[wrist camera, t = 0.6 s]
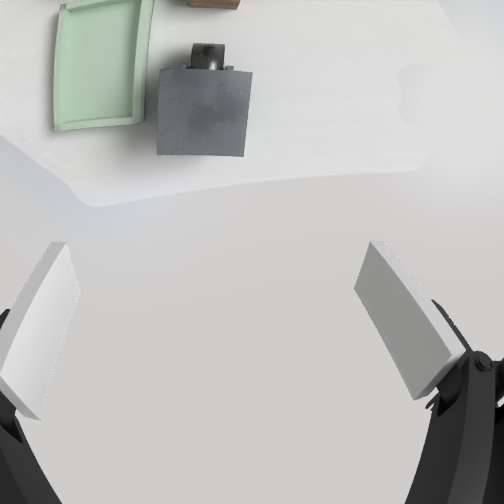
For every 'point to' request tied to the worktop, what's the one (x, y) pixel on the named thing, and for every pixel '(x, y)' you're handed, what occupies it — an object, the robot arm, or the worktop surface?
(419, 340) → the robot arm
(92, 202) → the worktop surface
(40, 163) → the worktop surface
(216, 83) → the caster wheel
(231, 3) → the block
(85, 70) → the tray
